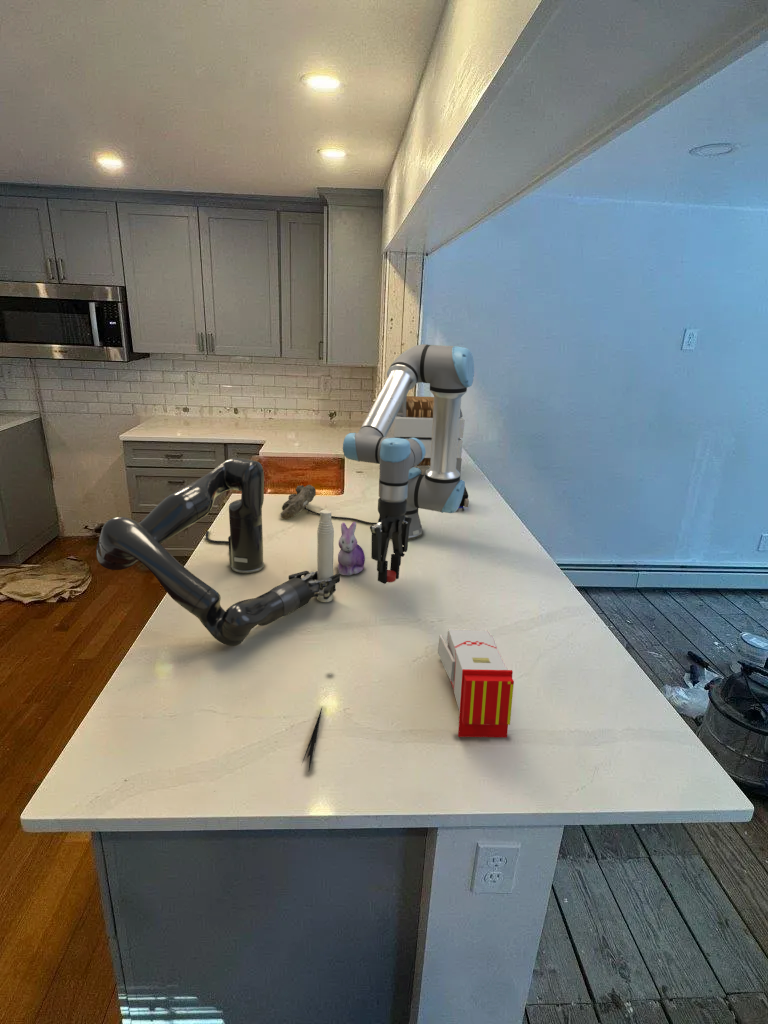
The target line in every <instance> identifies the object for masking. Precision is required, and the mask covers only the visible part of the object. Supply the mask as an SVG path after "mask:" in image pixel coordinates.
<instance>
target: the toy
mask: <svg viewBox="0 0 768 1024" xmlns="http://www.w3.org/2000/svg"><path fill="white" fill-rule="evenodd" d="M446 640H447V643H446V641H445V639H444V636H443V635H442V634H439V637H438V646H437V656H438V657H439V659H440V661H441V663H442V666H443V668H444V670H445V672H446V674H447V677H448V679H449V681H450V684H451V687H452V690H453V693H454V697H455V701H456V705H457V708H458V711H459V714H458V715H459V716H458V730H457V731H458V732H457V737H458V738H508V731H509V726H510V725H511V717H512V707H513V697H514V696H513V695H514V684H515V680H514V679H513V673H514V671H513V670H512V669H508V667H507V665H506V662H505V661H504V659H503V658H502V655H501V653H500V651H499V649H498V647H497V643H496V639H495V637H494V635H493V634H491V632H490V631H489V629H467V628H466V629H465V628H463V629H461V628H460V629H459V628H448V630H447V639H446Z"/></svg>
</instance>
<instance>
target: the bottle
mask: <svg viewBox="0 0 768 1024" xmlns="http://www.w3.org/2000/svg"><path fill="white" fill-rule="evenodd" d="M319 513H320V515H319V522H318V524H317V525H318V526H317V531H316V532H317V534H316V535H317V536H316V538H317V539H316V540H317V541H316V542H317V543H316V548H317V550H316V553H317V555H316V556H317V557H316V563H317V564H316V571H317V580H319V579H323V580H324V579H328V578H329V577H331V576H333V575H334V555H335V554H334V549H335V548H334V547H335V546H334V545H335V544H334V541H335V531H334V523H333V520H332V518H331V516H332V513H333V512H332V510H331V509H321V510H320V511H319ZM325 586H327V583H326V584H325ZM316 599H317V601H318V602H320V603H329V602H332V601H333V599H334V593H333V594H332V595H331V596H330V597H329V598H328V599H327V600H325V599H324V596H320V595H318V596H317V597H316Z"/></svg>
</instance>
